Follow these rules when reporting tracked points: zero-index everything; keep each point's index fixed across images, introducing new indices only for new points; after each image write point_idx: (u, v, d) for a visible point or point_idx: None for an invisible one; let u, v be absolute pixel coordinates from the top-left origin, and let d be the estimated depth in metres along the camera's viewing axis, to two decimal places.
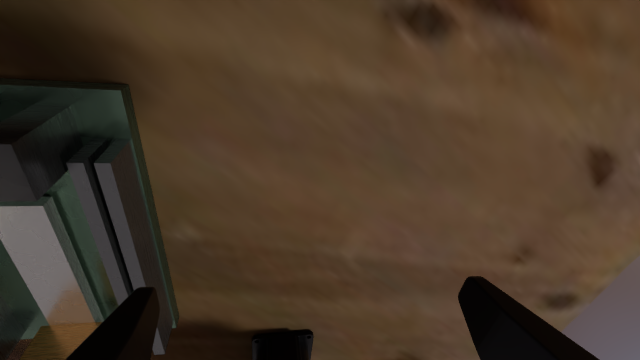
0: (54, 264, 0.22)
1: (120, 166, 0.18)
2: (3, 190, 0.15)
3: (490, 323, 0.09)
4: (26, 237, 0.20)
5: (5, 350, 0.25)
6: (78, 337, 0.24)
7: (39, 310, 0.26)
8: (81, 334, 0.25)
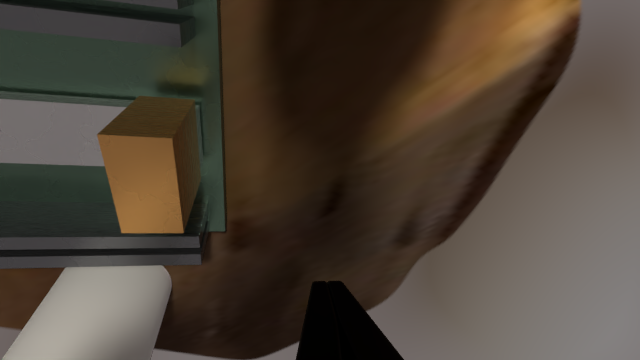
0: None
1: None
2: None
3: None
4: None
5: (188, 224, 0.18)
6: None
7: None
8: None
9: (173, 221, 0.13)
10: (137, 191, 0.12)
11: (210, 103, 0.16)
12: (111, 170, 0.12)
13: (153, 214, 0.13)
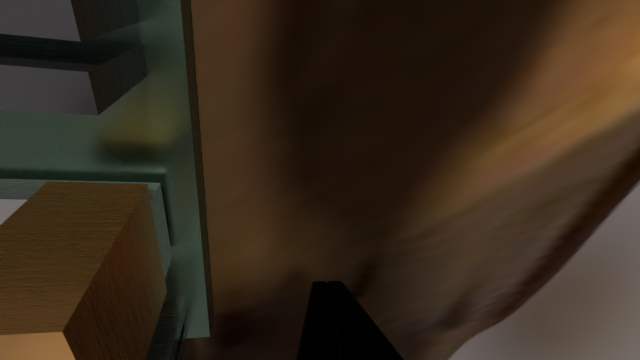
0: None
1: None
2: None
3: None
4: None
5: (149, 355, 0.12)
6: None
7: None
8: None
9: None
10: None
11: (179, 177, 0.10)
12: None
13: None
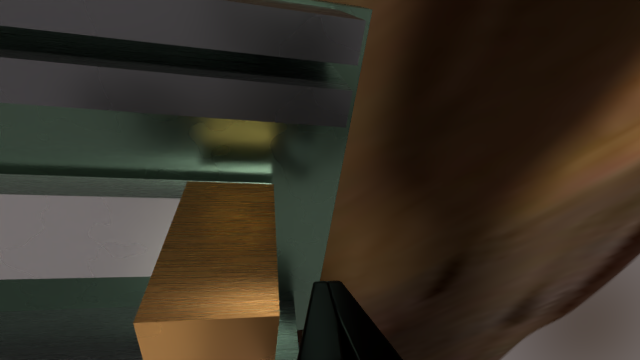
0: None
1: None
2: None
3: None
4: None
5: (280, 344, 0.12)
6: None
7: None
8: None
9: None
10: None
11: (325, 179, 0.11)
12: None
13: None
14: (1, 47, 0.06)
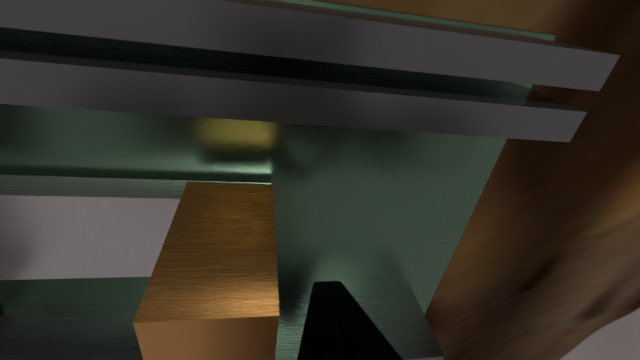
0: None
1: None
2: None
3: None
4: None
5: (418, 335, 0.14)
6: None
7: (372, 268, 0.14)
8: None
9: None
10: None
11: (474, 184, 0.12)
12: None
13: None
14: (316, 79, 0.07)
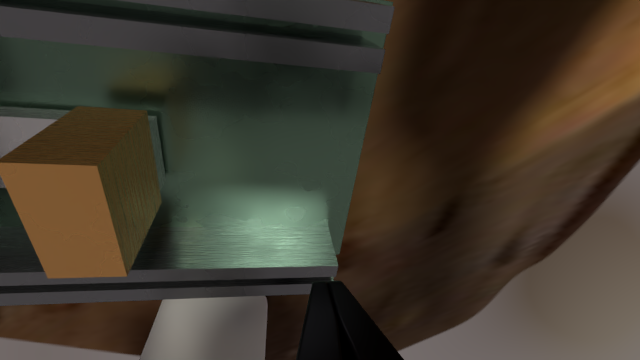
0: None
1: None
2: None
3: None
4: None
5: (321, 252, 0.17)
6: None
7: (285, 199, 0.17)
8: None
9: (112, 264, 0.11)
10: (60, 229, 0.10)
11: (356, 125, 0.15)
12: (21, 205, 0.09)
13: (85, 256, 0.10)
14: (187, 24, 0.10)
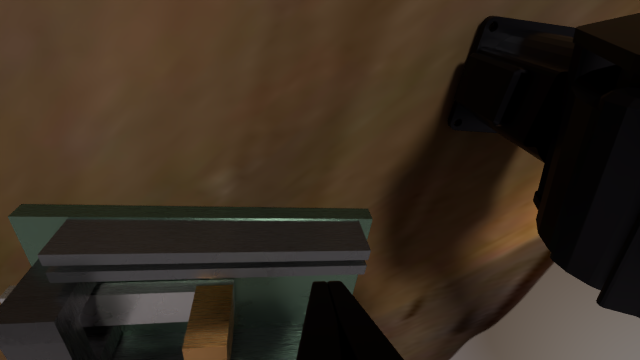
0: (93, 304, 0.21)
1: (63, 242, 0.17)
2: (46, 335, 0.17)
3: None
4: None
5: None
6: None
7: None
8: None
9: None
10: None
11: None
12: None
13: None
14: None
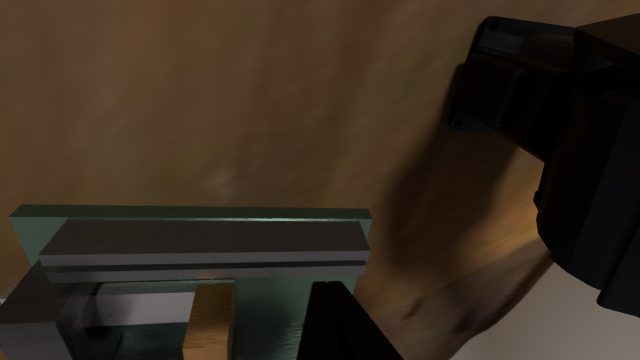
0: (93, 304, 0.21)
1: (63, 242, 0.17)
2: (47, 336, 0.17)
3: None
4: None
5: None
6: None
7: None
8: None
9: None
10: None
11: None
12: None
13: None
14: None
